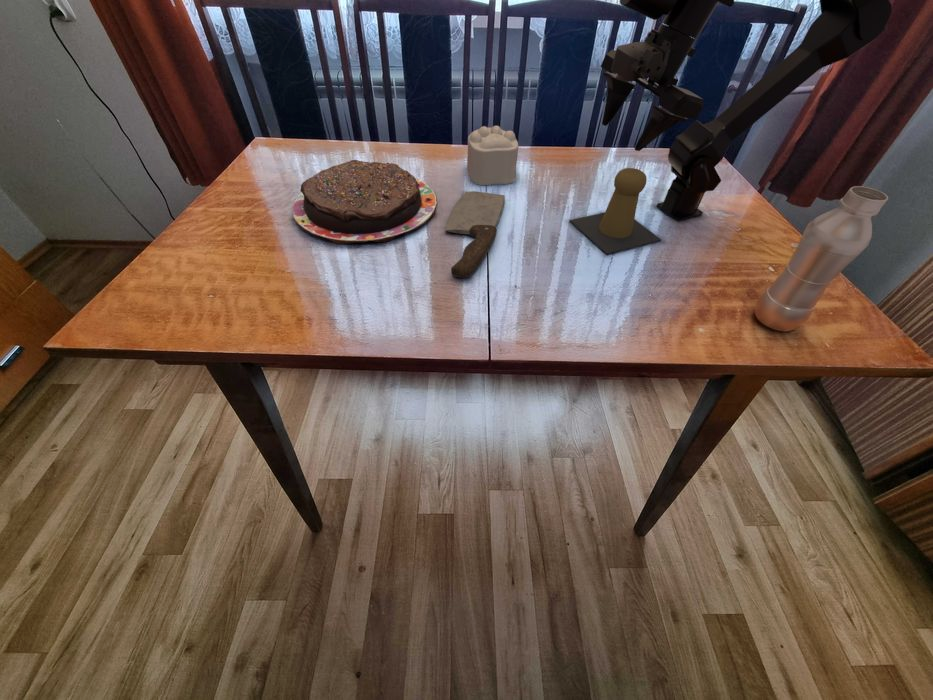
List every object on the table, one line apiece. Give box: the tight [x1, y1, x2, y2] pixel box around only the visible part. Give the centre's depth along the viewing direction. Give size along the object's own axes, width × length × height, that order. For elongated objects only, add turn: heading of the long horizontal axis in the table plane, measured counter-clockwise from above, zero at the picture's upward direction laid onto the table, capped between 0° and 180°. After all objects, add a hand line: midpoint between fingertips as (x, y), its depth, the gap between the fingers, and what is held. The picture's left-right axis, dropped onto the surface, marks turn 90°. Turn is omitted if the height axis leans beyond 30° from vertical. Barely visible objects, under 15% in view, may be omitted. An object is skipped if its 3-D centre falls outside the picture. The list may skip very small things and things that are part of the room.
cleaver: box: [444, 190, 506, 279], centre depth 77 cm, size 30×10×2 cm, turn 169°
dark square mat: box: [569, 212, 662, 256], centre depth 79 cm, size 12×12×1 cm
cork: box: [599, 167, 648, 238], centre depth 74 cm, size 6×6×11 cm
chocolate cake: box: [291, 159, 438, 245], centre depth 81 cm, size 28×28×7 cm
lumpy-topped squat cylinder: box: [466, 125, 519, 186], centre depth 92 cm, size 10×13×9 cm
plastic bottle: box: [753, 185, 889, 332], centre depth 55 cm, size 6×7×20 cm
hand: (619, 137), depth 73 cm, fingers open, 9 cm apart
